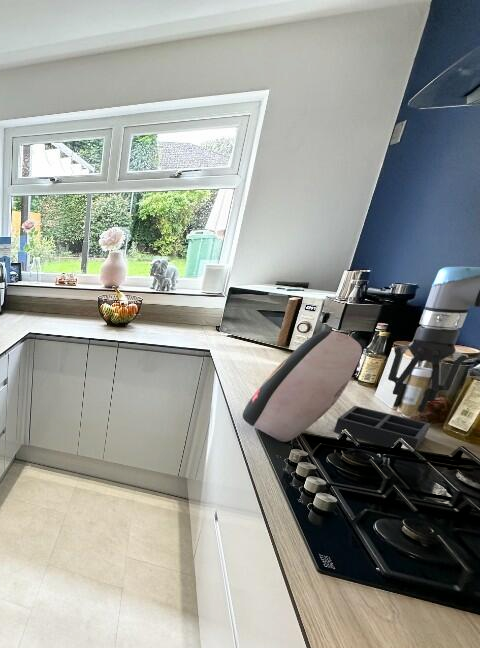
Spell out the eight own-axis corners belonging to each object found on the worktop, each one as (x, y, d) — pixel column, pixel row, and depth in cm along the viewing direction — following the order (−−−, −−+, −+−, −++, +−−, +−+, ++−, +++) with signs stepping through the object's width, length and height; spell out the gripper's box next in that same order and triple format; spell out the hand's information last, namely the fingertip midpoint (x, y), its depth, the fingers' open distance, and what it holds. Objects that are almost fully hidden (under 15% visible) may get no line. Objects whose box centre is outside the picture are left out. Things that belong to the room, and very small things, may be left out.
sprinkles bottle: (423, 416, 112) (441, 371, 107) (406, 416, 112) (423, 370, 107) (407, 410, 116) (424, 366, 111) (391, 410, 116) (406, 366, 112)
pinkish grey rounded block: (253, 413, 125) (278, 318, 115) (335, 433, 111) (372, 328, 101) (231, 434, 111) (258, 329, 101) (322, 461, 97) (363, 342, 87)
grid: (424, 439, 108) (430, 423, 107) (411, 455, 100) (418, 439, 98) (349, 419, 120) (354, 405, 118) (333, 432, 112) (338, 418, 110)
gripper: (389, 324, 110) (363, 402, 118) (489, 334, 97) (453, 421, 104) (396, 321, 114) (370, 397, 122) (493, 330, 101) (457, 415, 108)
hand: (408, 408), depth 113 cm, fingers closed on sprinkles bottle, 4 cm apart
